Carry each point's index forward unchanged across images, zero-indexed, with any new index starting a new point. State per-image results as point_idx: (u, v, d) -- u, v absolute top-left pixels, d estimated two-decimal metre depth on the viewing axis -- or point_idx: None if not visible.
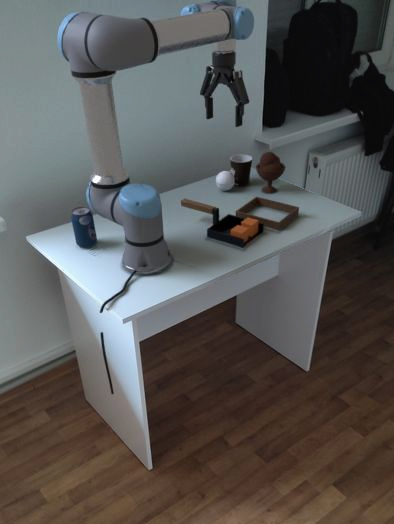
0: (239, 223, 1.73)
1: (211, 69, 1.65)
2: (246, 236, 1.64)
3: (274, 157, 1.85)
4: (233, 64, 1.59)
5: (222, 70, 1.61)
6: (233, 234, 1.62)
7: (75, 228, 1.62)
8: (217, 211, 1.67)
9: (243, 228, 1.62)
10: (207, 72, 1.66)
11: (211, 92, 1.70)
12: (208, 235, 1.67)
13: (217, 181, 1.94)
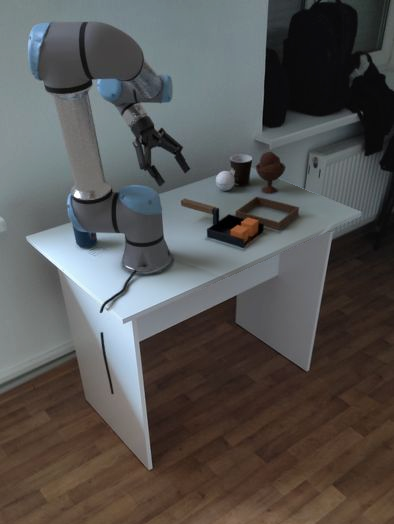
0: (239, 223, 1.73)
1: None
2: (246, 236, 1.64)
3: (274, 157, 1.85)
4: (138, 133, 1.65)
5: None
6: (233, 234, 1.62)
7: (75, 228, 1.62)
8: (217, 211, 1.67)
9: (243, 228, 1.62)
10: None
11: (172, 150, 1.72)
12: (208, 235, 1.67)
13: (217, 181, 1.94)
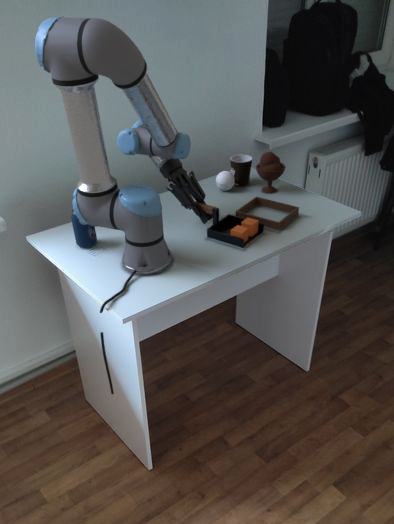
0: (239, 223, 1.73)
1: None
2: (246, 236, 1.64)
3: (274, 157, 1.85)
4: (167, 173, 1.66)
5: None
6: (233, 234, 1.62)
7: (75, 228, 1.62)
8: (217, 211, 1.67)
9: (243, 228, 1.62)
10: None
11: (195, 196, 1.71)
12: (208, 235, 1.67)
13: (217, 181, 1.94)
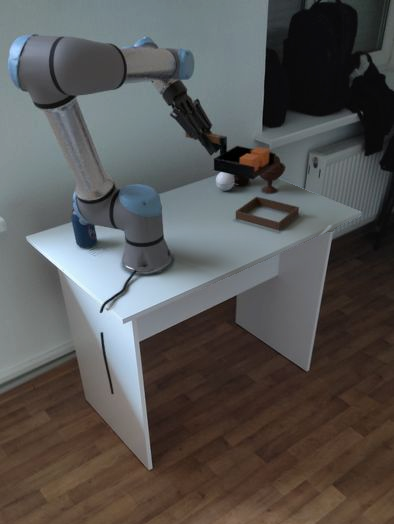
0: None
1: None
2: (257, 165, 1.51)
3: None
4: (170, 98, 1.54)
5: None
6: (242, 162, 1.50)
7: (75, 228, 1.62)
8: (225, 140, 1.55)
9: (253, 156, 1.50)
10: None
11: (201, 125, 1.59)
12: (215, 165, 1.55)
13: (217, 181, 1.94)
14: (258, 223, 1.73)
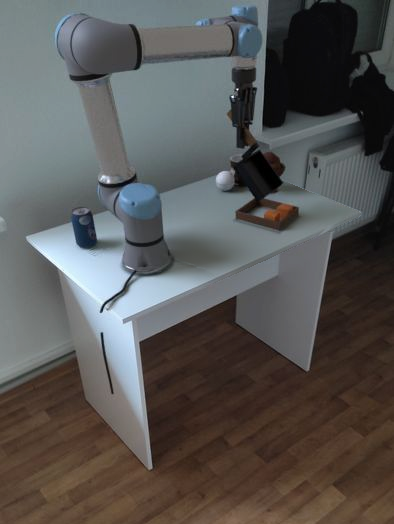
0: (263, 165, 1.74)
1: None
2: None
3: (274, 157, 1.85)
4: (238, 82, 1.52)
5: None
6: (271, 218, 1.70)
7: (75, 228, 1.62)
8: (256, 148, 1.65)
9: (278, 221, 1.72)
10: None
11: (245, 116, 1.63)
12: (236, 166, 1.66)
13: (217, 181, 1.94)
14: (258, 223, 1.73)
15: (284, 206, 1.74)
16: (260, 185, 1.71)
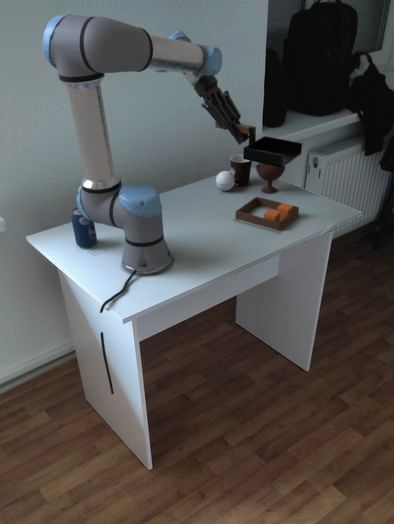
0: (275, 145, 1.67)
1: None
2: None
3: None
4: (202, 90, 1.61)
5: None
6: (271, 218, 1.70)
7: (75, 228, 1.62)
8: (254, 130, 1.62)
9: (278, 221, 1.72)
10: None
11: (230, 115, 1.66)
12: (244, 154, 1.61)
13: (217, 181, 1.94)
14: (258, 223, 1.73)
15: (284, 206, 1.74)
16: None
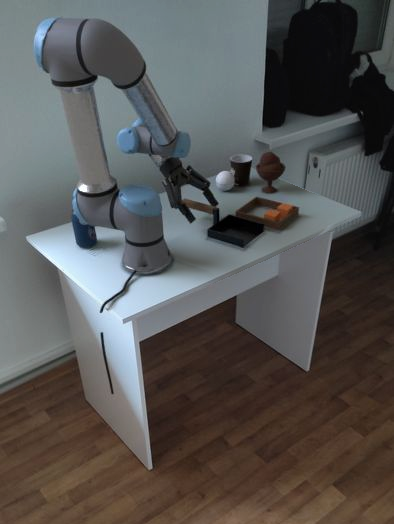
0: (239, 223, 1.73)
1: None
2: None
3: (274, 157, 1.85)
4: (167, 172, 1.66)
5: None
6: (271, 218, 1.70)
7: (75, 228, 1.62)
8: (217, 211, 1.67)
9: (278, 221, 1.72)
10: None
11: (200, 186, 1.74)
12: (208, 235, 1.67)
13: (217, 181, 1.94)
14: None
15: (284, 206, 1.74)
16: (241, 237, 1.66)
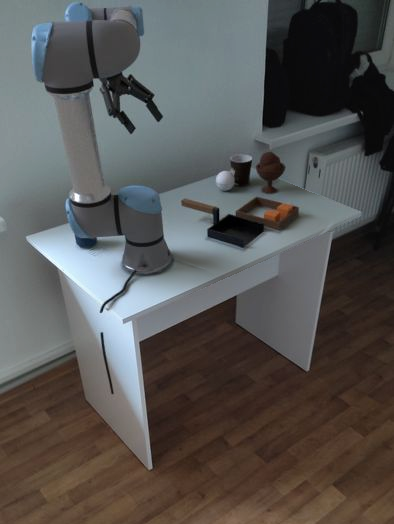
0: (239, 223, 1.73)
1: None
2: None
3: (274, 157, 1.85)
4: (104, 78, 1.56)
5: None
6: (271, 218, 1.70)
7: None
8: (217, 211, 1.67)
9: (278, 221, 1.72)
10: None
11: (143, 97, 1.63)
12: (208, 235, 1.67)
13: (217, 181, 1.94)
14: None
15: (284, 206, 1.74)
16: (241, 237, 1.66)
